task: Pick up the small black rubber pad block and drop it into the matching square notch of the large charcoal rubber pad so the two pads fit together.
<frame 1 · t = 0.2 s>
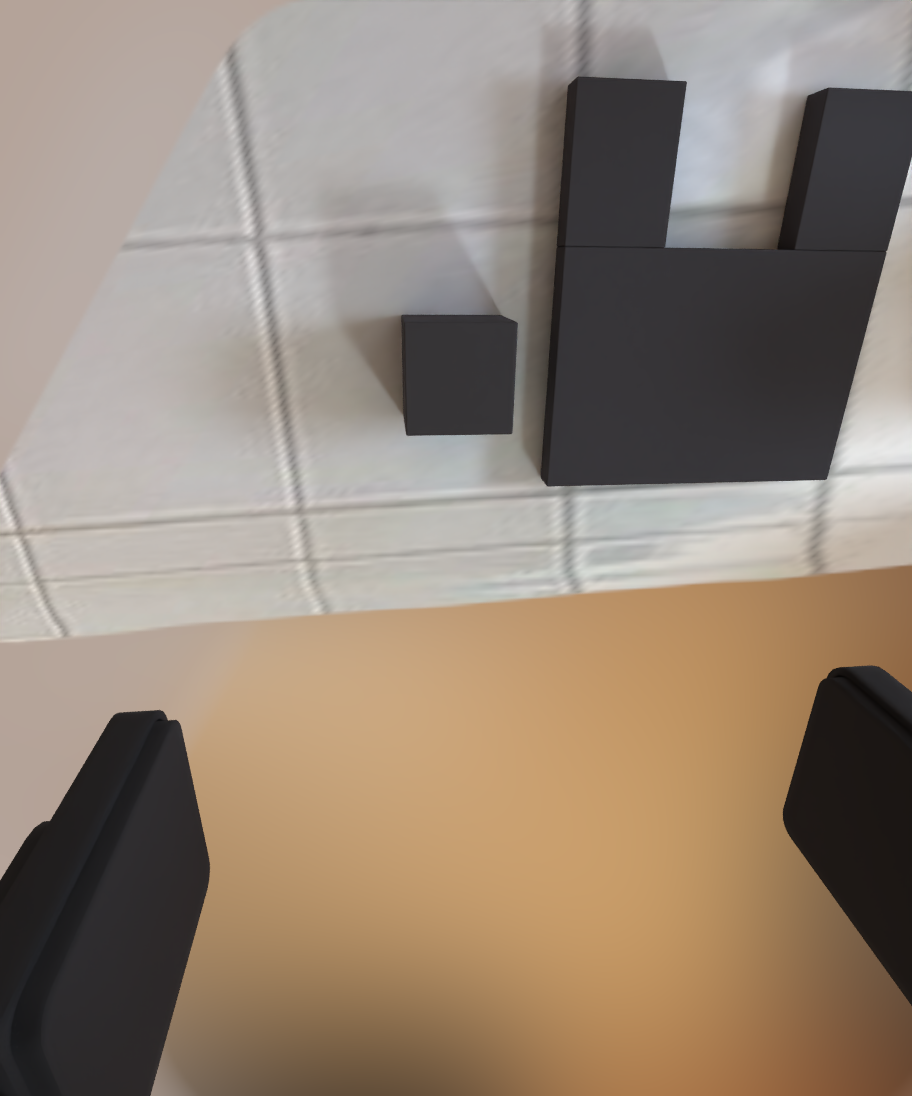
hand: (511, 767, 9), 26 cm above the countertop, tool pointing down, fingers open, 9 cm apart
base pad: (706, 305, 32), on the countertop
pad piece: (451, 367, 32), on the countertop
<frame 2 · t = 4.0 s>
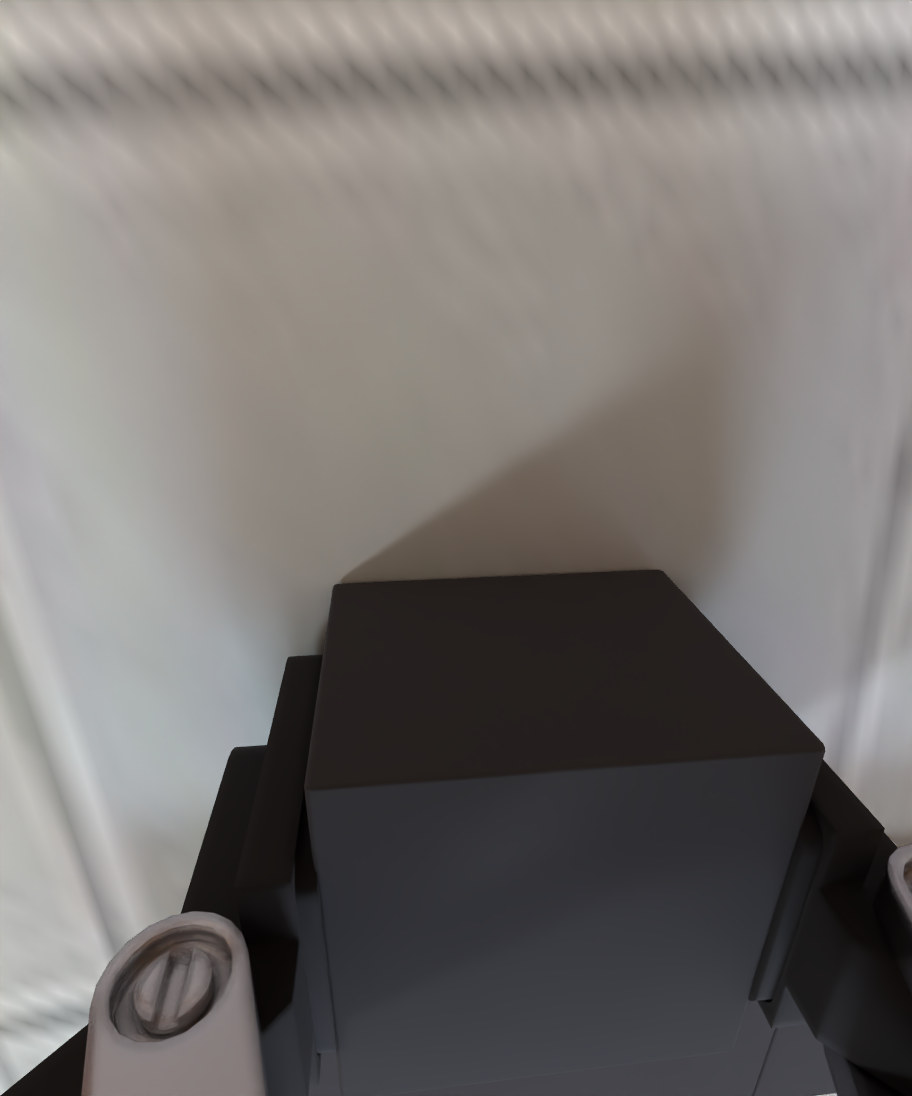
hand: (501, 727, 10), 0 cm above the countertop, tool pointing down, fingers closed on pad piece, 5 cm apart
pad piece: (496, 710, 11), on the countertop, touching gripper
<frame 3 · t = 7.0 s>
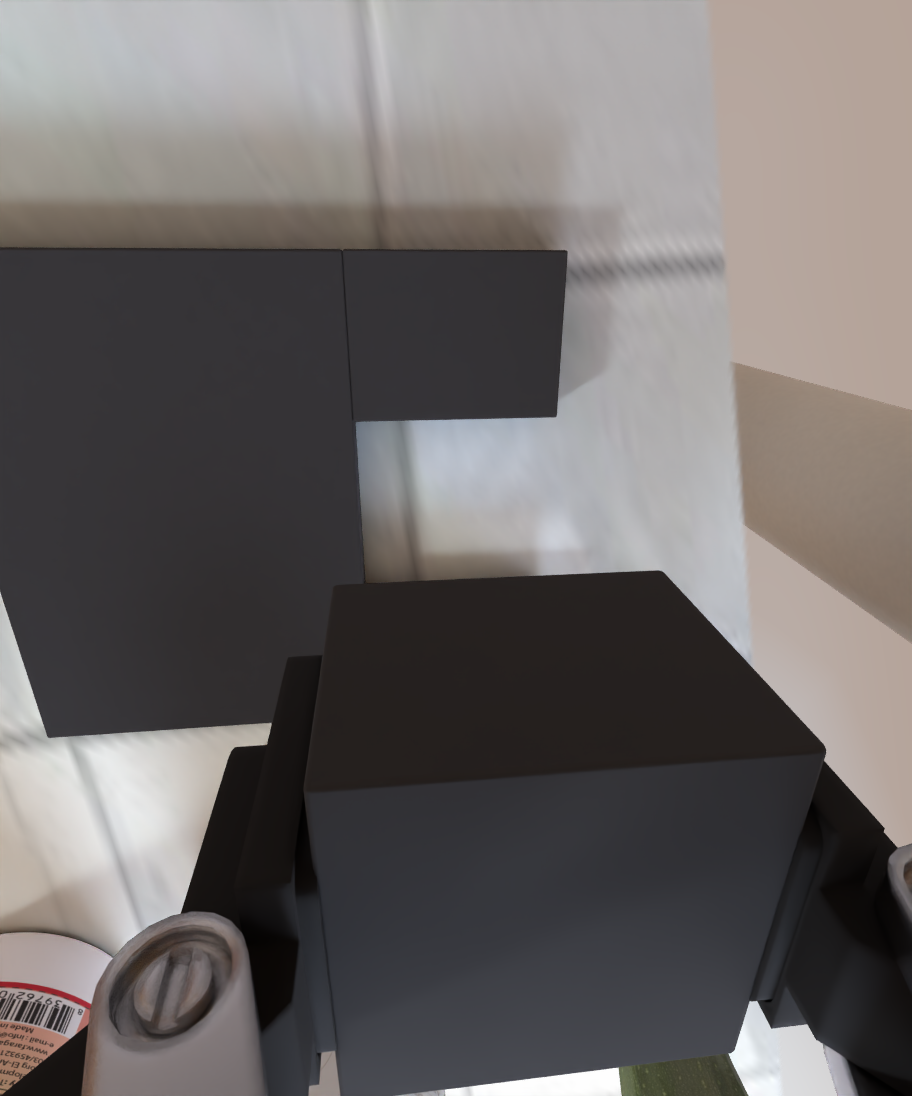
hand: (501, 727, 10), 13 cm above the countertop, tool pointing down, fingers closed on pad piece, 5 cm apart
base pad: (284, 506, 22), on the countertop
small box: (330, 901, 30), on the countertop
fruit juice: (40, 987, 30), on the countertop
vegetable: (581, 832, 30), on the countertop
pad piece: (496, 711, 10), point 13 cm above the countertop, touching gripper
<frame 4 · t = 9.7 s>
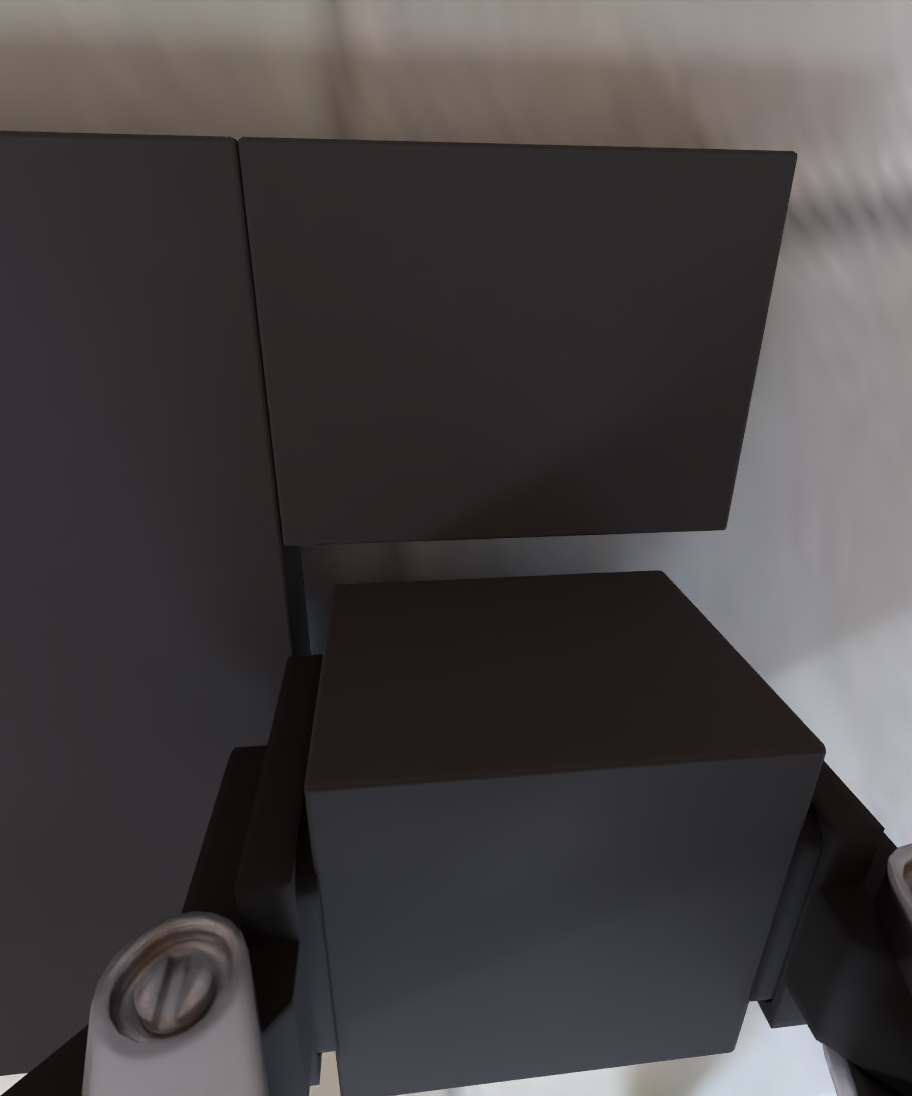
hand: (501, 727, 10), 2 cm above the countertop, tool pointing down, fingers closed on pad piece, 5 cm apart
base pad: (162, 686, 11), on the countertop
pad piece: (496, 710, 10), point 1 cm above the countertop, touching gripper
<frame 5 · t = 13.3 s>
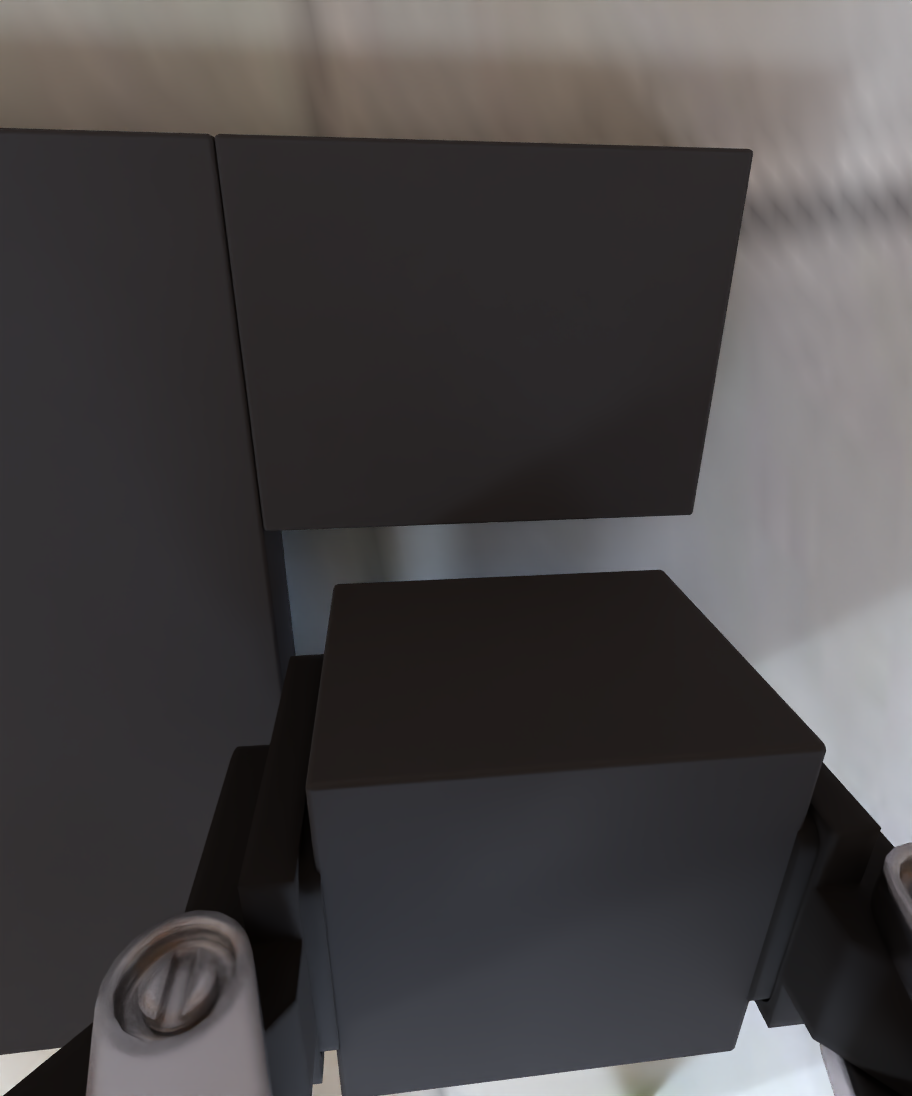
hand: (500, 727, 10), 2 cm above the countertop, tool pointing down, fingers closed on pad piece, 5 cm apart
base pad: (148, 671, 11), on the countertop
pad piece: (497, 710, 11), point 2 cm above the countertop, touching gripper
when the fingers open (2 cm above the countertop, at t = 16.7 s): pad piece drops 2 cm, on the countertop.
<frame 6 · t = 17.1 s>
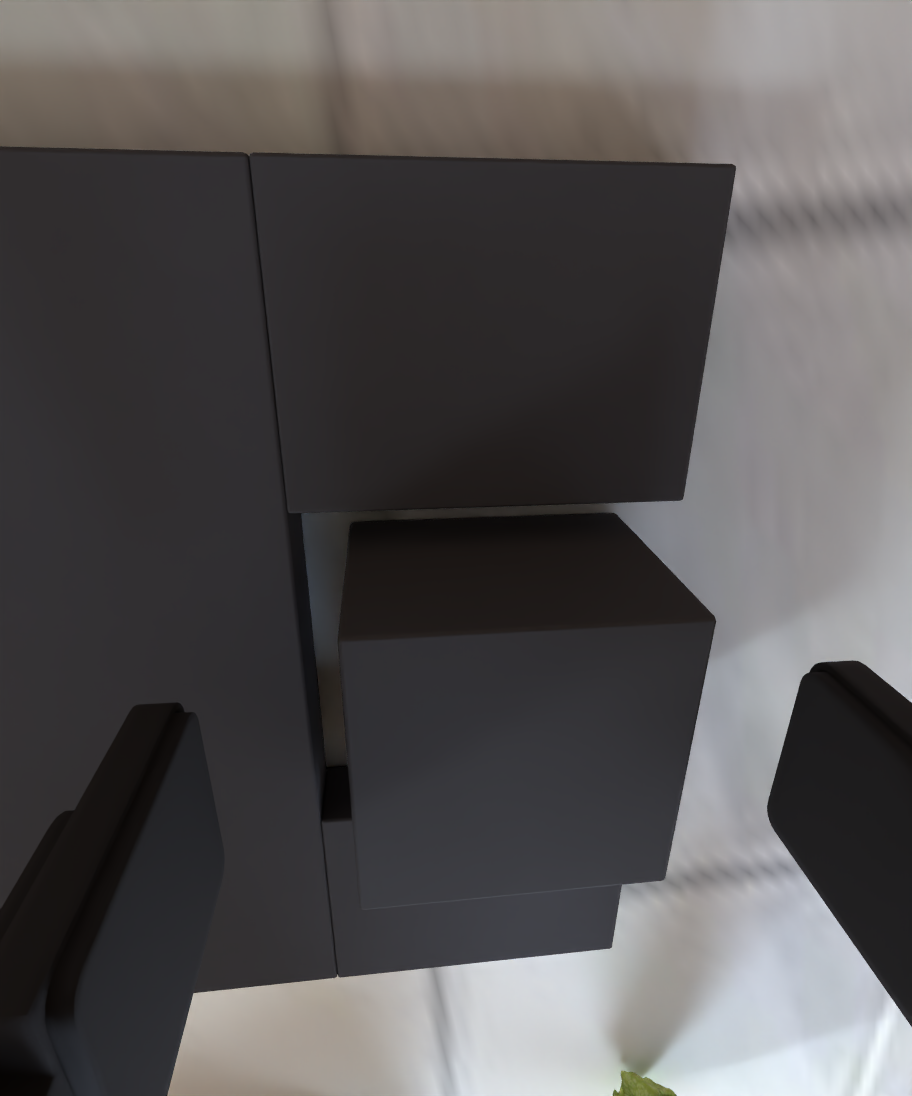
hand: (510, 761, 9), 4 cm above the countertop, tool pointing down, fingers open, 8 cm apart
base pad: (176, 647, 12), on the countertop
vegetable: (655, 1071, 20), on the countertop
pad piece: (482, 632, 13), on the countertop
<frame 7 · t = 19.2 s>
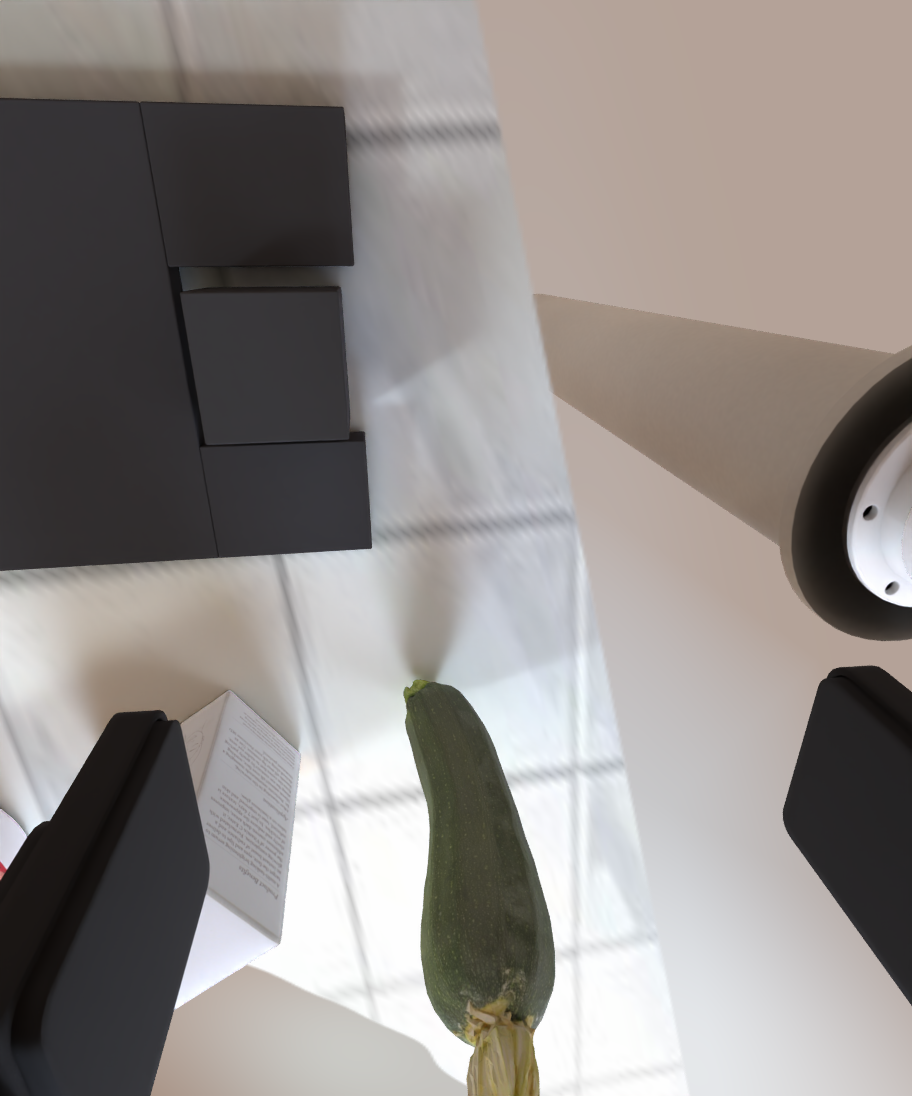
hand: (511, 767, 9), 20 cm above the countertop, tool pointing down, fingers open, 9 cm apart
base pad: (123, 358, 24), on the countertop
small box: (209, 757, 33), on the countertop
vegetable: (439, 689, 33), on the countertop
pad piece: (282, 354, 25), on the countertop
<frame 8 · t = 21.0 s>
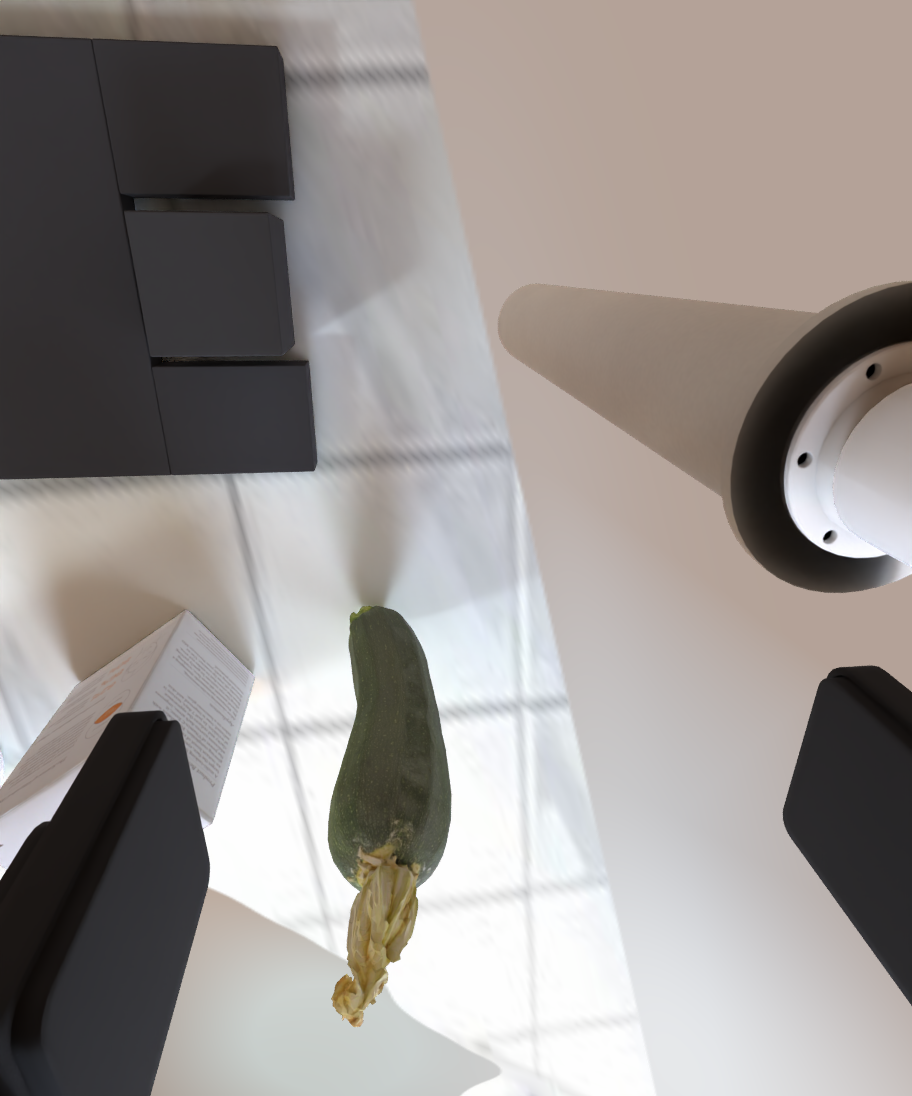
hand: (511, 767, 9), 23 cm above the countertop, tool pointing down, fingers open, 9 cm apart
base pad: (83, 283, 27), on the countertop
small box: (169, 677, 35), on the countertop
vegetable: (386, 618, 35), on the countertop
pad piece: (230, 284, 27), on the countertop
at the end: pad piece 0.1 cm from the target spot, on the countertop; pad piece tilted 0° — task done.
